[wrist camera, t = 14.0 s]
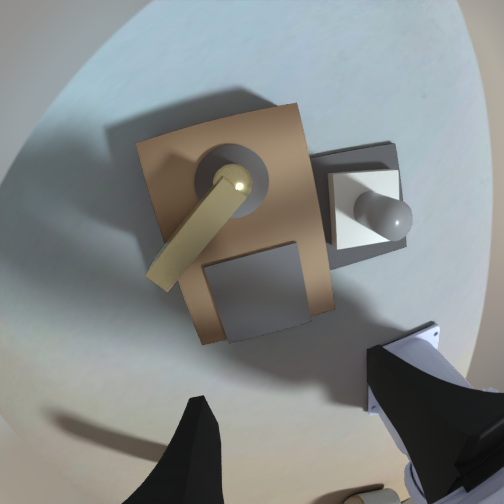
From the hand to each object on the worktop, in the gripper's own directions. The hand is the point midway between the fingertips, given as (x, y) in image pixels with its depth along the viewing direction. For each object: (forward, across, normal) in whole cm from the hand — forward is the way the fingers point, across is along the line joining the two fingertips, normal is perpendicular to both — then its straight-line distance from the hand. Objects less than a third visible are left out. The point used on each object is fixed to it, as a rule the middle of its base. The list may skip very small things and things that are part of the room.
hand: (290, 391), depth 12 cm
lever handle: (+7, +2, -7) cm, 10 cm away
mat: (+10, -8, -4) cm, 14 cm away
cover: (+10, -8, -4) cm, 14 cm away
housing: (+10, 0, -5) cm, 12 cm away
